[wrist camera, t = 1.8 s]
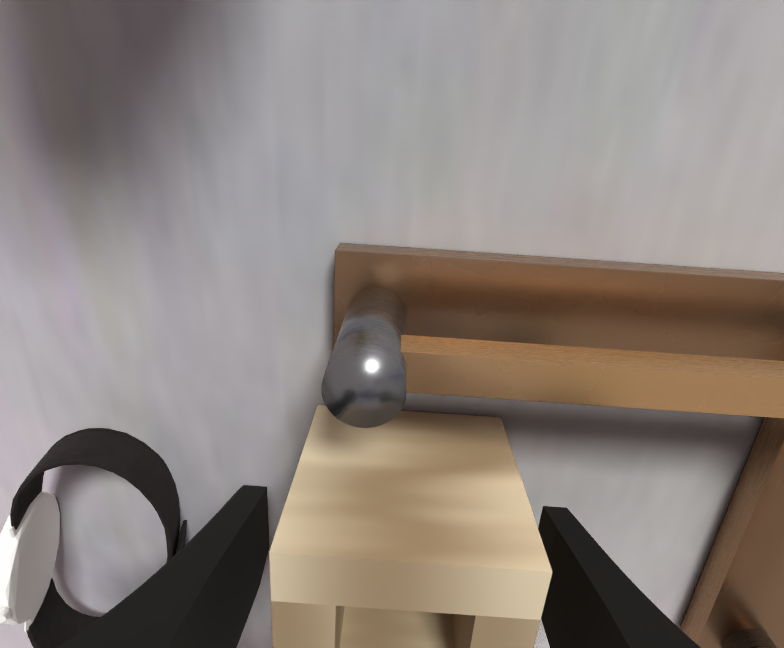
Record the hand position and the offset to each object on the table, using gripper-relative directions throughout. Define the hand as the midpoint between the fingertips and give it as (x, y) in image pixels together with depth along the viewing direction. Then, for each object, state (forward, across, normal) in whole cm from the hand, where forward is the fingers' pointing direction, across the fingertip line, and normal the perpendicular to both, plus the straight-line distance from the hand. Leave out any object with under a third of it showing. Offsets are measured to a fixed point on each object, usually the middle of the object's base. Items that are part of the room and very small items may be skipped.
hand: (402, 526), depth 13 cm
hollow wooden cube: (+2, 0, 0) cm, 2 cm away
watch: (+2, +9, +2) cm, 9 cm away
